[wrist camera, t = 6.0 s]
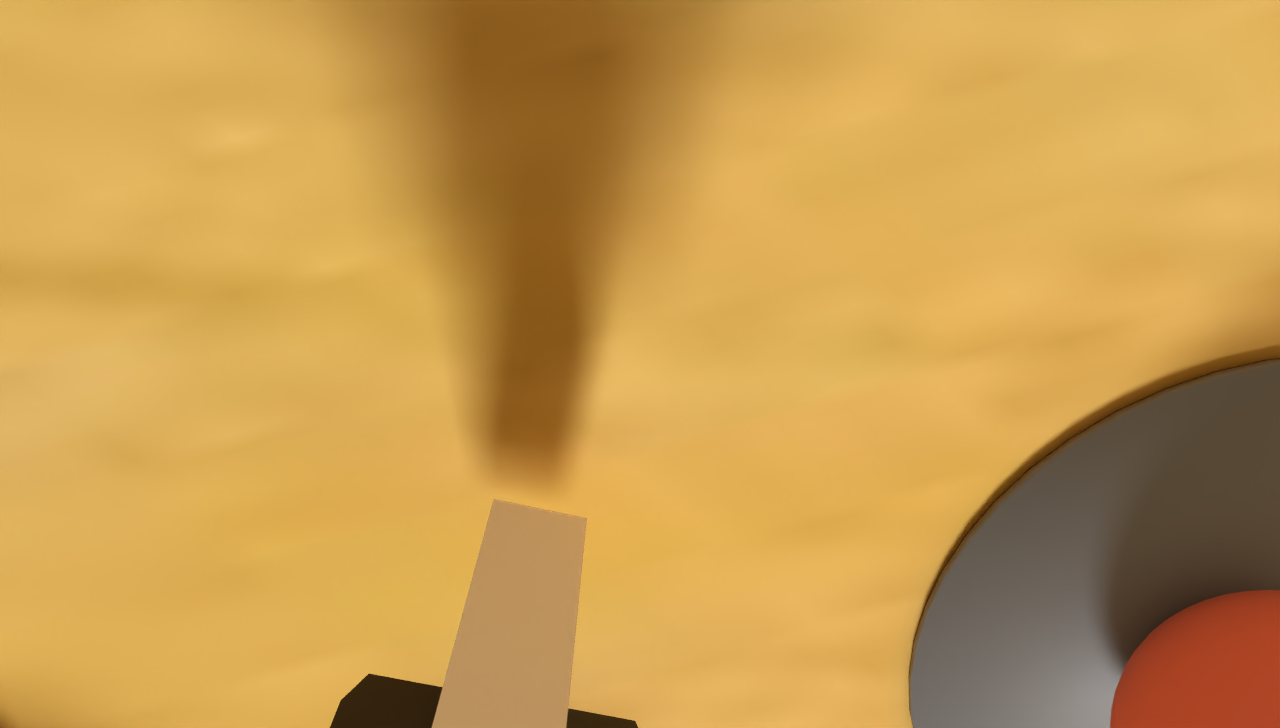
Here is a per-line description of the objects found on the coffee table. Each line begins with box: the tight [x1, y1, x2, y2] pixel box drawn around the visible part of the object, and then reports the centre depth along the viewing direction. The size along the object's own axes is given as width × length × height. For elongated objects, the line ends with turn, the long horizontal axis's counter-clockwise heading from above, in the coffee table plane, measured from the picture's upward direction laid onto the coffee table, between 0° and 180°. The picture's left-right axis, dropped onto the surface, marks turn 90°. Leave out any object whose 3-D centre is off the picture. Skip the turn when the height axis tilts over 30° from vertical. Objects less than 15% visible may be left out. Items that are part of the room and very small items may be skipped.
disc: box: [909, 359, 1280, 728], centre depth 18 cm, size 13×13×1 cm
